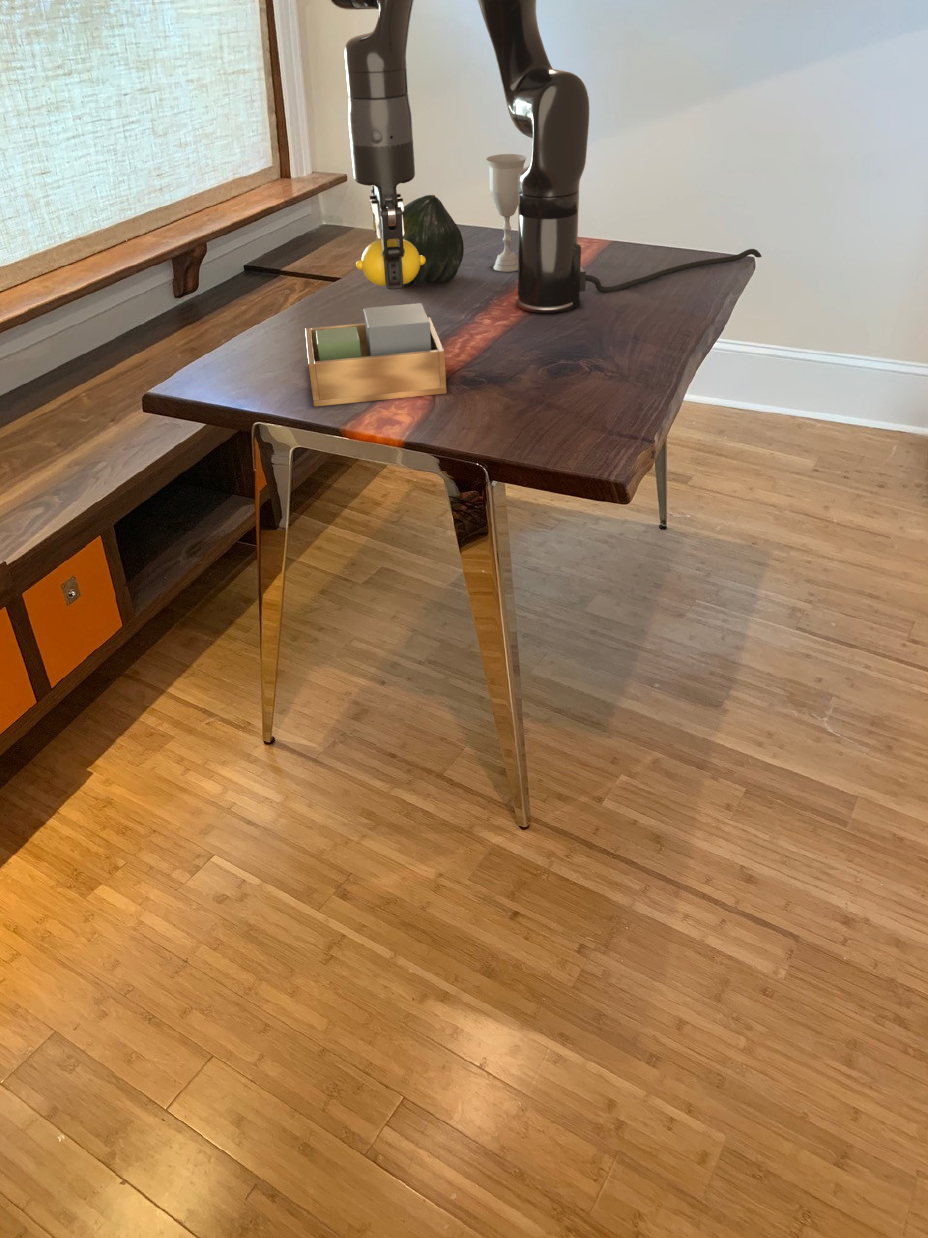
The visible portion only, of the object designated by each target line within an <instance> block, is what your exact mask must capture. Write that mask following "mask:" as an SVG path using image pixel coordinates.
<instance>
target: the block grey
mask: <svg viewBox="0 0 928 1238" xmlns="http://www.w3.org/2000/svg"><path fill="white" fill-rule="evenodd" d="M363 318H364V323H365V329H366V340H367V350H368V356H379V355H389V354H400V353H410V352H421V351H431V337H430V322H429V320H428V316H427V313H426V311H425V308H424V306H423V303H422V302H417V303H416V302H415V303H407V304H395V305H384V306H382V305H381V306H373V307H364V308H363Z"/></svg>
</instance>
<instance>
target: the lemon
mask: <svg viewBox="0 0 928 1238" xmlns="http://www.w3.org/2000/svg"><path fill="white" fill-rule="evenodd" d="M396 246H397V240H396V239H389V240H388V241H387V247H396ZM403 246H404V250H405V253H404V256H403V258H402V272H403V284H406V283H409V282H410V281H412V280H413V279H414V278H415V277H416V275H417V274H418V272H419V269H420V265H423V264H425V261H426V259H425V257H424V256H422V255H419V253H418V251H417V249H416V248H415V246H414V245H413V244H411V243H410V242H409V241H407V240H404V239H403ZM381 252H382V245H381V241H380V240H378V241H377V240H375V241H372V242H371V243H370V244H368V245H367V246H366V248H365V249H364V251H363V253H362V255H361V259H359V260H357V261H356V263H355V266H356V268H357V270H359V271H362V272H363V274H364V276H365V277H366V279H367V280H368V281H369V282H371V283H372V284H373V285H376V286H380V287H386V283H385V270H384V259H383V256H382V254H381Z"/></svg>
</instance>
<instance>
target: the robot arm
mask: <svg viewBox="0 0 928 1238" xmlns="http://www.w3.org/2000/svg"><path fill="white" fill-rule="evenodd" d="M329 1H330V2H331V3H332V5H334V7H335V6H336V8H338V9H342V10H347V11H349V10H351V11H355V10H357V11H359V10H360V11H361V10H378V17H377V21H376V24H375V27H374V29H373V31H370V32H368V33H367V32H366V33H363V34H360V35H357V36H353V37H351V38H350V39H348V41H346V43H345V46H344V61H345V62H344V65H345V77H346V87H347V96H348V97H347V98H348V105H347V106H348V111H347V123H348V133H349V141H350V142H349V143H350V152H351V153H350V154H351V164H352V165H351V166H352V174H353V176H352V177H353V179H354V181H355V182H356V183H357V184H359V185H363V186H367V187H371V189H370V193H371V195H368V197H369V198H368V199H369V207H370V212H371V217H372V226H373V230H374V233H375V235H376V236H375V237H376V240H375V241H378V240H380V241H381V245H382V252H381V254H382V256H383V259H384V270H385V283H386V286H385V287H386V289H387V290H400V289H402V288H403V287H404V286H403V272H402V258H403V256H404V253H405V250H404V246H403V236H404V223H403V211H404V206H405V203H404V198H403V197H402V195H401V193H398V191H397V187H398V185H400V184H406V183H409V182H411V181H412V180H413V179H414V178H415V176H416V172H415V171H416V168H415V167H416V166H415V151H414V135H413V134H414V133H413V118H412V111H411V105H410V99H409V86H408V82H409V81H408V69H407V50H408V49H407V48H408V40H409V32H410V31H409V30H410V24H411V18H412V12H413V6H414V2H415V0H329ZM477 3H478V6H479V9H480V12H481V15H482V19H483V21H484V24H485V27H486V31H487V33H488V35H489V39H490V42H491V44H492V47H493V51H494V55H495V59H496V64H497V68H498V72H499V77H500V80H501V85H502V89H503V94H504V98H505V102H506V106H507V111H508V113H509V116H510V119H511V121H512V122H513V125H514V126H515V128H516V129H517V130H518V131H519V132H520V133H521V134H523V135H524V136H526V137H528V138H531V139H532V144H531V145H532V147H531V159H530V163H529V164H528V166H526V167H524V169H522V170H521V171H520V173H519V177H518V207H517V212H518V213H517V214H518V215H517V216H518V217H517V218H518V221H517V223H518V225H517V227H518V229H517V230H518V231H517V232H518V233H517V234H518V235H517V236H518V237H517V239H518V241H517V243H518V244H517V245H518V247H517V253H518V254H517V259H518V270H517V273H518V274H517V306H518V308H520V309H521V310H523V311H526V312H530V313H536V314H557V313H563V312H566V311H570V310H572V309H578V308H579V307H580V293H583V292H586V282H590V283H592V284H594V287H595V289H596V290H597V292H600V293H610V292H616V291H621V290H625V289H628V288H631V287H634V286H637V285H642V284H645V283H648V282H650V281H653V280H655V279H658V278H661V277H664V276H668V275H671V274H675V273H679V272H682V271H685V270H691V269H694V268H699V267H706V266H712V265H719V264H725V263H731V262H733V263H734V262H737V261H740V260H742V259H744V258H747V257H748V256H750V255H753V256H754V257H755V258H762V254H761V253H760V252H759V250H758V249H755V248H748V249H746V250H743V251H742V252H740V253H737V254H735V255H730V256H723V257H716V258H708V259H702V260H697V261H692V262H687V263H683V264H679V265H675V266H671V267H669V268H665V269H662V270H659V271H655V272H653V273H650V274H648V275H645V276H642V277H638V278H634V279H631V280H629V281H626V282H622V283H619V284H616V285H611V286H604V285H602V283H601V281H600V279H599V278H597V277H596V276H594V275H589V274H587V271H586V270H585V269H584V268H583V267H582V266H581V262H582V261H581V260H582V259H581V258H582V246H581V245H580V243H579V242H578V237H579V236H578V234H579V209H580V207H579V205H580V183H581V179H582V176H583V174H584V170H585V168H586V162H587V152H588V142H589V141H588V140H589V130H590V129H589V128H590V127H589V126H590V98H589V93H588V90H587V87H586V84H585V83H584V81H583V80H582V78H580V77H579V76H578V75H577V74H575V73H572V72H570V71H565V70H561V69H554V68H553V67H552V64H551V62H550V60H549V57H548V55H547V51H546V49H545V46H544V43H543V40H542V35H541V33H540V29H539V25H538V24H539V23H538V17H537V0H477ZM389 239H396V240H397V246H396V247H387V241H388V240H389Z"/></svg>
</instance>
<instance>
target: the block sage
mask: <svg viewBox="0 0 928 1238" xmlns="http://www.w3.org/2000/svg"><path fill="white" fill-rule="evenodd" d="M316 336H317V345H318V352H319V360H320V361H326V360H337V359H347V358H358V357H361V350H360V341H359V336H358V332H357V327H347V328H336V329H325V330H316Z"/></svg>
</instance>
